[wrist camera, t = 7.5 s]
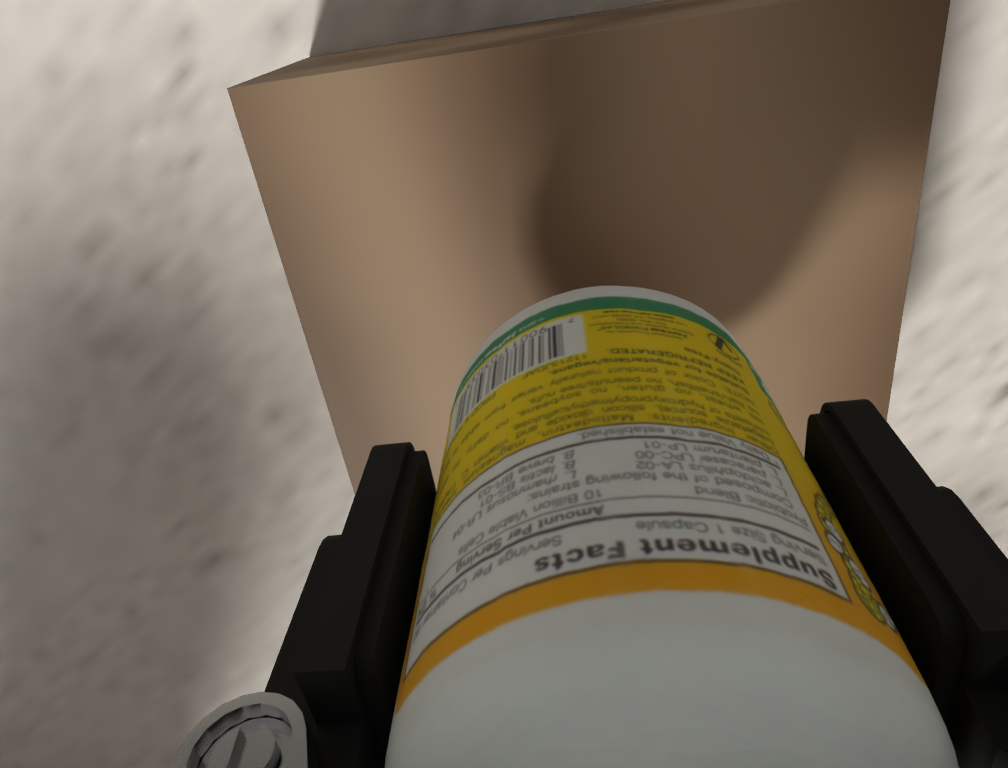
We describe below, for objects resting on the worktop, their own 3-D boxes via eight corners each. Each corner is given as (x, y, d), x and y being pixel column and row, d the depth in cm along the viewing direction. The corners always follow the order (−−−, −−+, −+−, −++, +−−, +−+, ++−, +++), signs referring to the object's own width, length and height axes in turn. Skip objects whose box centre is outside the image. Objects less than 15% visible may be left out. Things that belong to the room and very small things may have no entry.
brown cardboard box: (838, -26, 15) (953, -24, 11) (801, 430, 21) (867, 547, 17) (308, 57, 17) (227, 88, 12) (412, 464, 23) (382, 581, 18)
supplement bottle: (472, 252, 11) (278, 1079, 3) (804, 301, 11) (1532, 1213, 3) (440, 513, 14) (294, 1320, 6) (709, 548, 14) (952, 1380, 6)
